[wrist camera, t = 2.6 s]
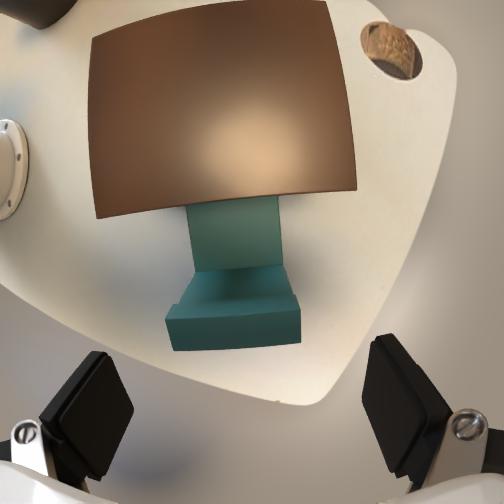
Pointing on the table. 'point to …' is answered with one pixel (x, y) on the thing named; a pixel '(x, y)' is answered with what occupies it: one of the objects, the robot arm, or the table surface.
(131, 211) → the side table
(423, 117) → the table surface
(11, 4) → the water bottle
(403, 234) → the table surface
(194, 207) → the chair
